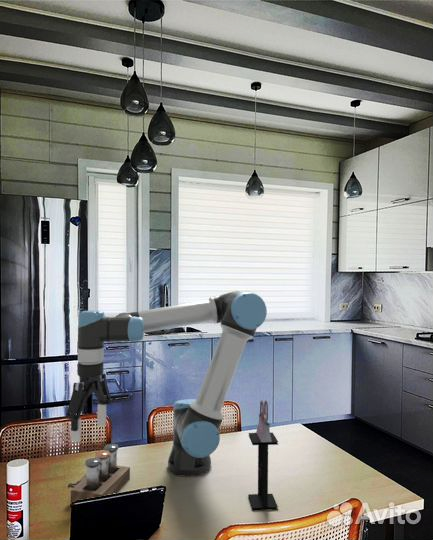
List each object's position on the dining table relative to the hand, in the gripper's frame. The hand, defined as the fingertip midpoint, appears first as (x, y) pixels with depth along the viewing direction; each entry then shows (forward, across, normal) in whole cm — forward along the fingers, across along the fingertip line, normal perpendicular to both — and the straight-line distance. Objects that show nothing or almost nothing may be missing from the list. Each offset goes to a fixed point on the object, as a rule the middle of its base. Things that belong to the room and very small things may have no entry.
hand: (89, 433), depth 124 cm
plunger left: (+15, +1, +2) cm, 16 cm away
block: (+19, -4, +2) cm, 20 cm away
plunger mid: (+15, -4, +2) cm, 16 cm away
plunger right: (+15, -10, +2) cm, 18 cm away
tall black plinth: (+19, -12, +51) cm, 56 cm away
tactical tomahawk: (+20, -14, -7) cm, 25 cm away
